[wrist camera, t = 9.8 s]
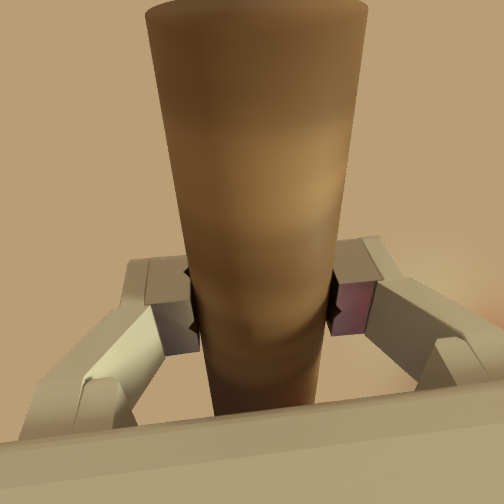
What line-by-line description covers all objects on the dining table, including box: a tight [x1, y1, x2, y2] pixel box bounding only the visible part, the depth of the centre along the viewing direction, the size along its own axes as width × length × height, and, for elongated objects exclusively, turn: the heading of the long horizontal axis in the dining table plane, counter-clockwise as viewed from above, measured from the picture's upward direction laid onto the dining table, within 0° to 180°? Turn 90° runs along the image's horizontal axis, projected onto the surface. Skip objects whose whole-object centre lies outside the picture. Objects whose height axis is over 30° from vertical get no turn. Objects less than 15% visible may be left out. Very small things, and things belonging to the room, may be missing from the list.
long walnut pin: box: [145, 0, 368, 416], centre depth 11 cm, size 3×3×15 cm
